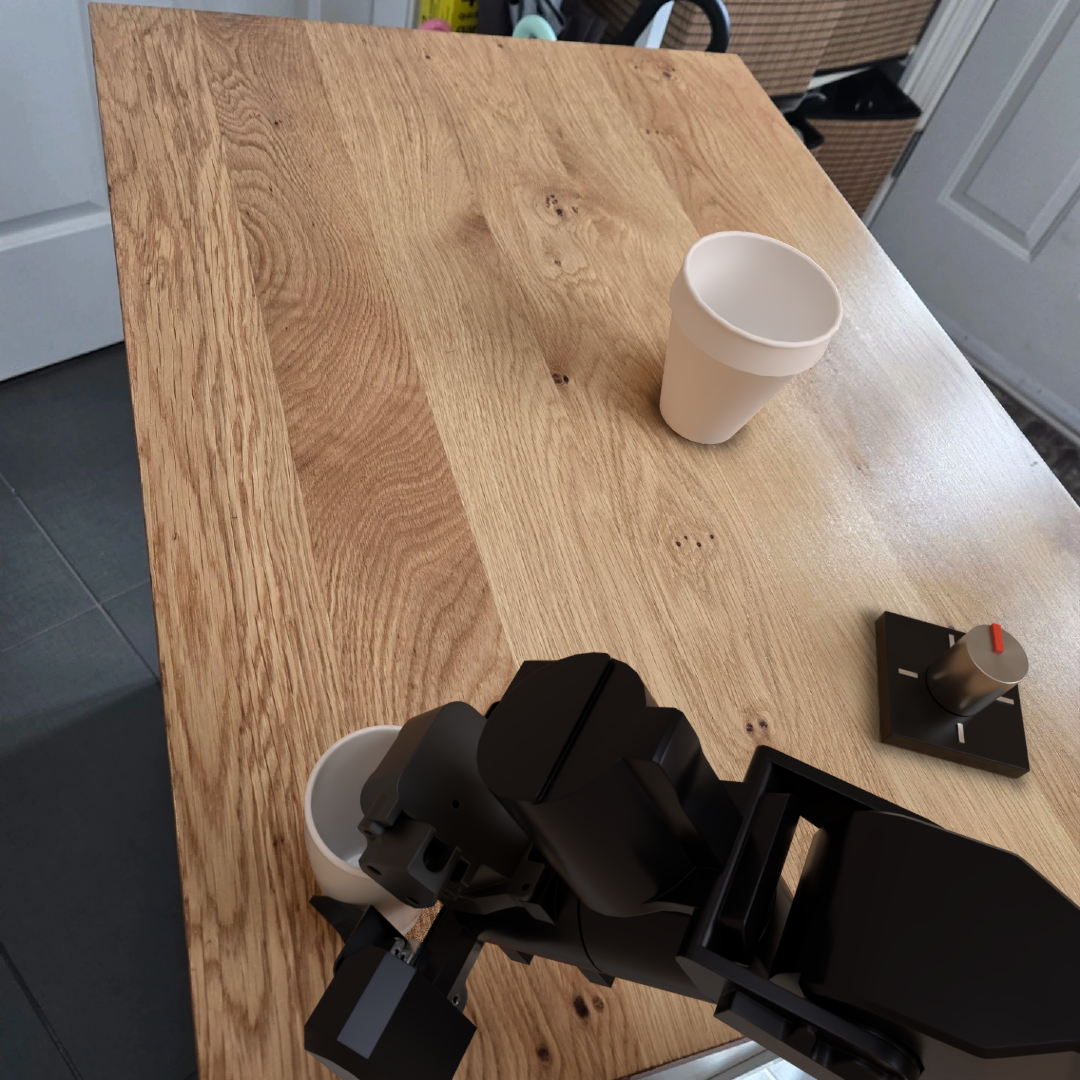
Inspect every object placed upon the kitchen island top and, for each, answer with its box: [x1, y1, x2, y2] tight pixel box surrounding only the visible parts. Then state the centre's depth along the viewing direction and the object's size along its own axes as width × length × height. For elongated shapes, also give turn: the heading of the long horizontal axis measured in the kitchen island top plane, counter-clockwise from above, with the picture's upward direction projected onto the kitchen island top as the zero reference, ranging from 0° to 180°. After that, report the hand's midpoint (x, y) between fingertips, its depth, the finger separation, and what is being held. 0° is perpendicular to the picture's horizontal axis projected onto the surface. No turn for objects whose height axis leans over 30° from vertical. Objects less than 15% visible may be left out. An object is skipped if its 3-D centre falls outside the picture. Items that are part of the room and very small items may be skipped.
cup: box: [659, 230, 844, 445], centre depth 74 cm, size 12×12×14 cm
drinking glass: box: [302, 724, 424, 937], centre depth 46 cm, size 7×7×15 cm
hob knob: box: [927, 622, 1030, 716], centre depth 65 cm, size 4×4×5 cm
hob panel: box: [875, 610, 1031, 779], centre depth 68 cm, size 10×10×2 cm
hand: (356, 840), depth 46 cm, fingers closed on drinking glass, 6 cm apart
